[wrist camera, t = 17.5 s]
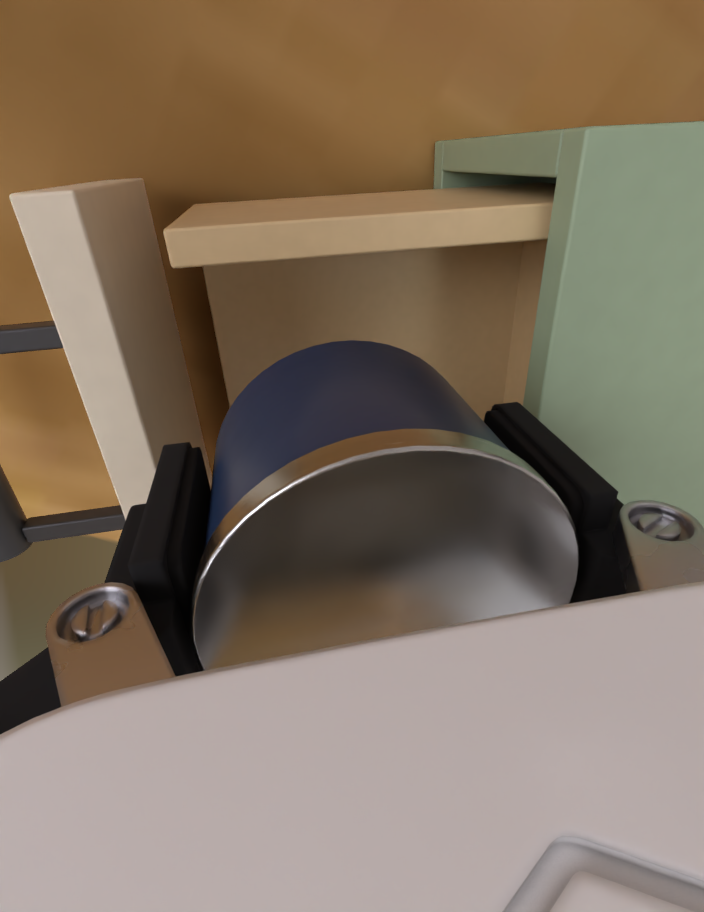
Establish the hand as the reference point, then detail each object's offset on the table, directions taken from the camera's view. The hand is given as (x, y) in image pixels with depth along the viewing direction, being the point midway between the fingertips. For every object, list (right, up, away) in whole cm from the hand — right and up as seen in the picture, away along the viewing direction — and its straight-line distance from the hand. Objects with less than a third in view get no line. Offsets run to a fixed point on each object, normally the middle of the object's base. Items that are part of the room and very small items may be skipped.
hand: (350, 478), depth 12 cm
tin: (0, 0, +1) cm, 1 cm away
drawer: (-3, +4, +7) cm, 9 cm away
